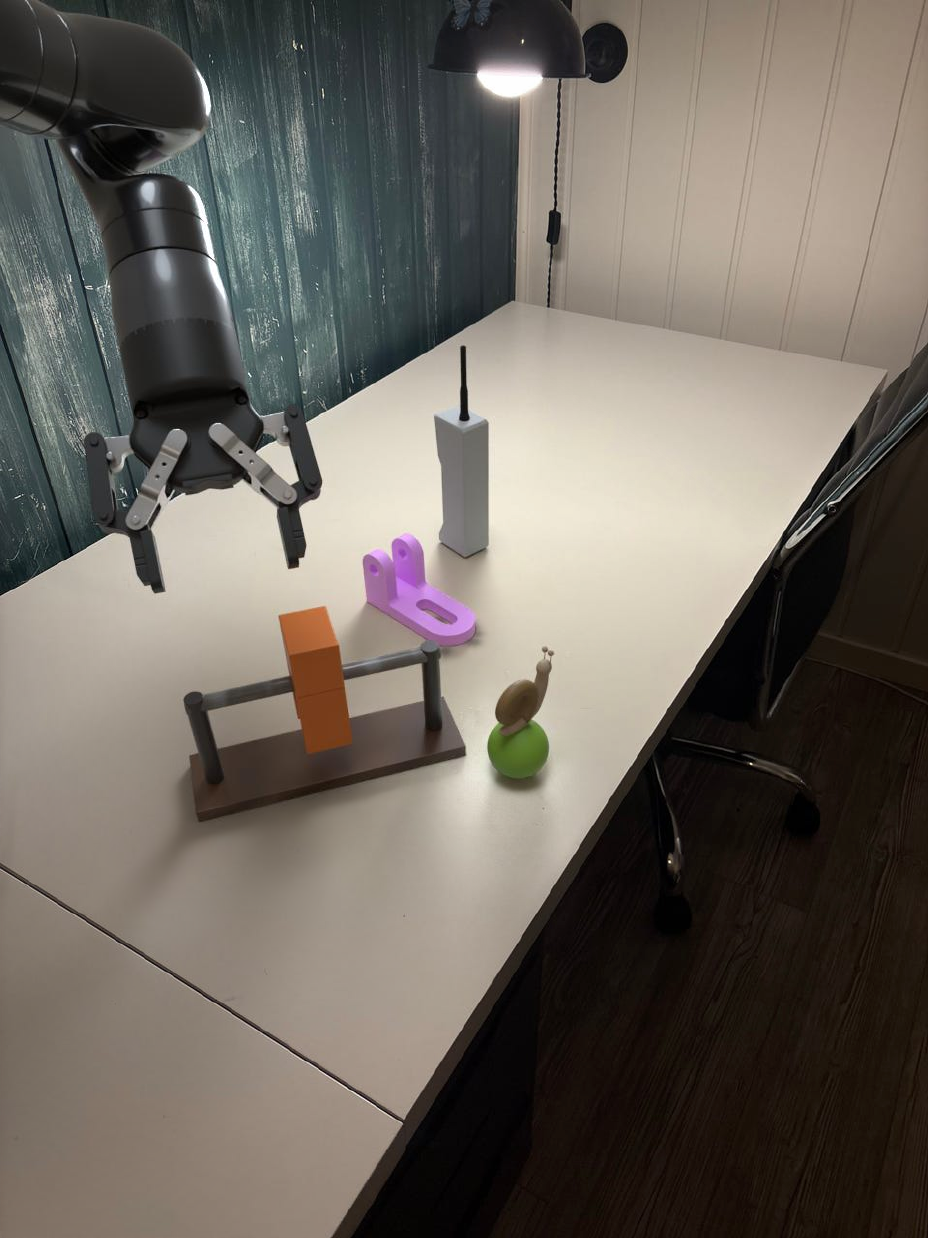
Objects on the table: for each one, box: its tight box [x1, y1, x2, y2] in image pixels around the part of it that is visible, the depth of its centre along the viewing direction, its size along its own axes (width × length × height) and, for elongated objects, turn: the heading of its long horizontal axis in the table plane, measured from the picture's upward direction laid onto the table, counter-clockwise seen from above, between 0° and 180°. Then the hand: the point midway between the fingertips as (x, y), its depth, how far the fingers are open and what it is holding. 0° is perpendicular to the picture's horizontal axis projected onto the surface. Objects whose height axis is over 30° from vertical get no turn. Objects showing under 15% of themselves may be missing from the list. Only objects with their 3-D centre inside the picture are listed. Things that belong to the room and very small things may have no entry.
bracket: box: [362, 533, 476, 647], centre depth 98 cm, size 13×6×7 cm, turn 46°
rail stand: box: [182, 640, 467, 822], centre depth 80 cm, size 24×7×11 cm, turn 108°
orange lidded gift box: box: [278, 605, 353, 754], centre depth 77 cm, size 4×6×11 cm
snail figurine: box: [486, 645, 555, 780], centre depth 79 cm, size 5×6×12 cm
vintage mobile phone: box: [433, 344, 490, 558], centre depth 103 cm, size 4×5×25 cm
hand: (227, 578), depth 59 cm, fingers open, 8 cm apart
